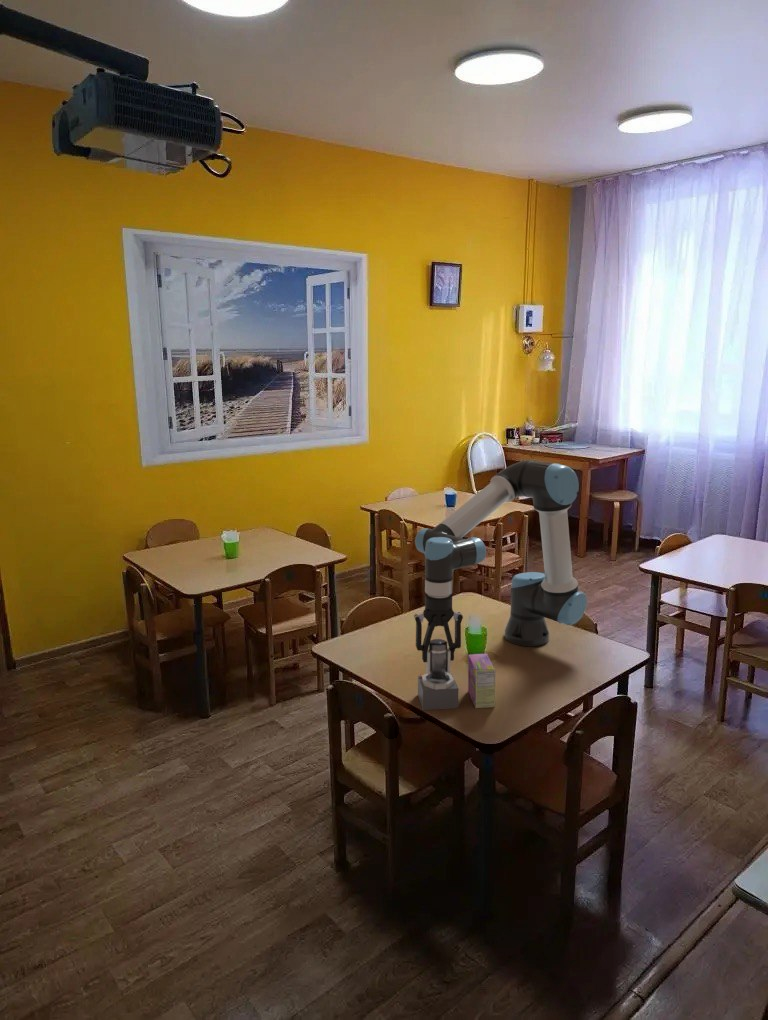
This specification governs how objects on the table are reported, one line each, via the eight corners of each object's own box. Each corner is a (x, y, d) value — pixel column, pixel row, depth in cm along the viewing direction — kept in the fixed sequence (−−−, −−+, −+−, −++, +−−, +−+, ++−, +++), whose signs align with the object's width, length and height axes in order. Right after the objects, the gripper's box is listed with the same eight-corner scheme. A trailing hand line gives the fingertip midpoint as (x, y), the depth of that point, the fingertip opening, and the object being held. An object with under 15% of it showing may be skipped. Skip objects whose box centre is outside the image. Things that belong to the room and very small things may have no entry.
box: (467, 691, 202) (468, 654, 200) (486, 690, 203) (487, 653, 200) (474, 709, 192) (475, 670, 190) (494, 708, 193) (496, 669, 190)
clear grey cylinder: (445, 670, 198) (445, 638, 195) (448, 679, 193) (448, 645, 190) (427, 671, 197) (427, 639, 195) (430, 680, 192) (430, 646, 190)
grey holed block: (451, 692, 201) (451, 669, 200) (458, 708, 193) (458, 684, 191) (417, 694, 200) (417, 672, 199) (423, 710, 192) (423, 686, 190)
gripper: (467, 587, 194) (466, 663, 199) (404, 590, 192) (404, 667, 197) (474, 596, 187) (472, 675, 192) (408, 599, 185) (408, 679, 190)
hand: (437, 671), depth 194 cm, fingers closed on clear grey cylinder, 5 cm apart
